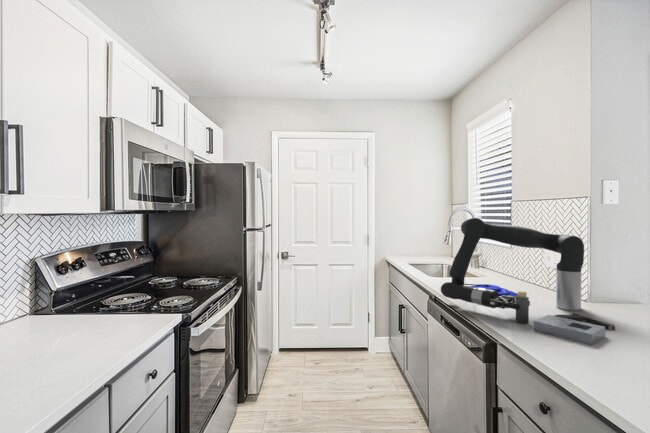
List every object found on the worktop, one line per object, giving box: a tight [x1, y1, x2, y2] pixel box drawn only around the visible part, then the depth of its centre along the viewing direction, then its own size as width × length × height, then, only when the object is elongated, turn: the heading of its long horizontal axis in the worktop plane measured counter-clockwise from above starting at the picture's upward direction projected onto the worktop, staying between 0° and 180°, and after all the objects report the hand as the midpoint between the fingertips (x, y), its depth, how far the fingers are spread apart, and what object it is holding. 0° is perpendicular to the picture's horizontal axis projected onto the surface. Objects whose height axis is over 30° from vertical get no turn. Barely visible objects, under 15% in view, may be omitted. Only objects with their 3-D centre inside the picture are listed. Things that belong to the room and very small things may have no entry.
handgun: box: [554, 312, 616, 331], centre depth 138 cm, size 2×16×12 cm
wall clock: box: [464, 283, 518, 296], centre depth 189 cm, size 30×6×30 cm
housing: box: [533, 314, 606, 346], centre depth 127 cm, size 13×18×4 cm
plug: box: [515, 290, 530, 325], centre depth 139 cm, size 4×4×12 cm
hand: (524, 305), depth 139 cm, fingers open, 8 cm apart
